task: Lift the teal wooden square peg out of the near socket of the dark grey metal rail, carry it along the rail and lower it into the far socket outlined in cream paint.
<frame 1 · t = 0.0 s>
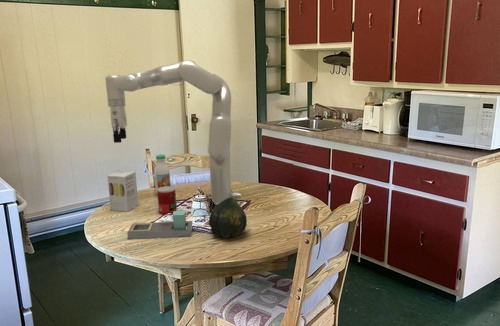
hand: (120, 140, 198), 31 cm above the table, tool pointing down, fingers open, 9 cm apart
supplement box: (124, 208, 201), on the table
peg: (180, 231, 172), resting in rail
rail: (161, 232, 171), on the table
canned food: (167, 212, 195), on the table
milk bottle: (163, 193, 223), on the table
squash: (228, 234, 169), on the table
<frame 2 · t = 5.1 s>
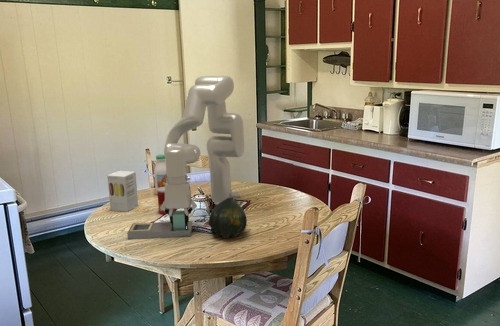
hand: (179, 223, 171), 3 cm above the table, tool pointing down, fingers closed on peg, 4 cm apart
peg: (180, 231, 172), resting in rail, touching gripper
everything else where it was.
when the fingers open (5 cm above the table, at t = 10.8 s): peg drops 1 cm, resting in rail.
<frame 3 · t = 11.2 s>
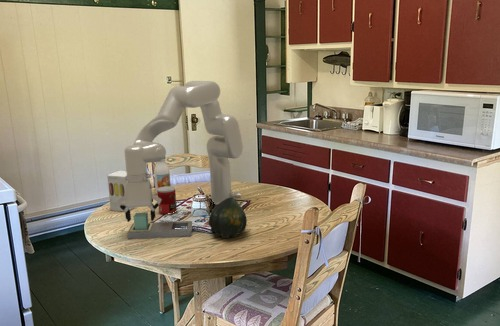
hand: (141, 220, 170), 6 cm above the table, tool pointing down, fingers open, 8 cm apart
peg: (142, 233, 171), resting in rail
everything else where it was.
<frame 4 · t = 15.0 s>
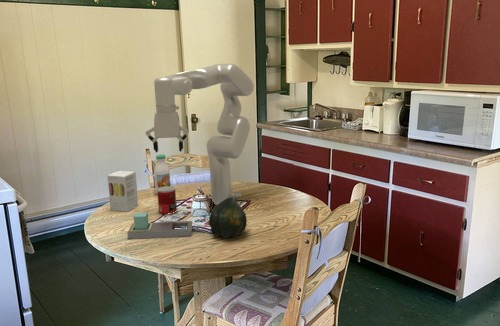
hand: (168, 151, 176), 30 cm above the table, tool pointing down, fingers open, 9 cm apart
nothing on the table moved.
at the end: peg 0.1 cm from the target spot on the rail, point 0.0 cm above the rail's base; peg tilted 0°; the gripper is holding nothing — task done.
